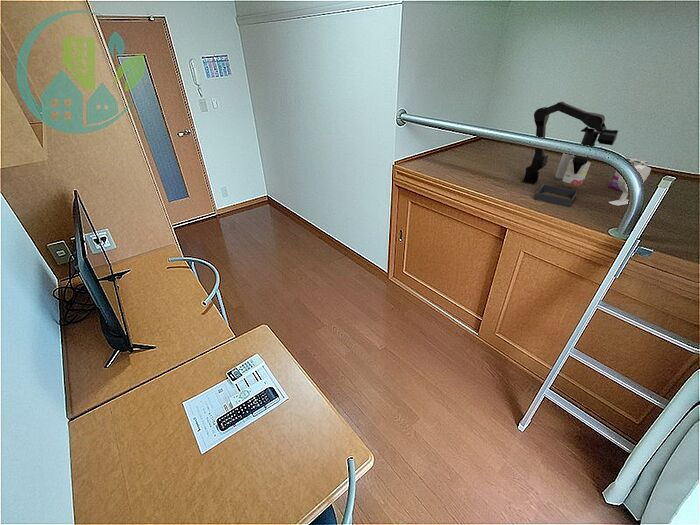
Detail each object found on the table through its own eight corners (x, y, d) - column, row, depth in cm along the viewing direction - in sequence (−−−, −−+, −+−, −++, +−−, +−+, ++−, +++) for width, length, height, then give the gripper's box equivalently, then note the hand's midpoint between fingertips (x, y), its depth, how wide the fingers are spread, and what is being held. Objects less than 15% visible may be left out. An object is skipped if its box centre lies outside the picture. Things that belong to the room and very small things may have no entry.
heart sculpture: (626, 198, 166) (644, 163, 156) (636, 201, 162) (655, 166, 152) (605, 202, 161) (621, 166, 151) (615, 206, 157) (632, 169, 147)
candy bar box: (635, 192, 172) (650, 161, 163) (628, 193, 171) (644, 162, 161) (614, 185, 181) (628, 156, 172) (608, 187, 179) (621, 157, 170)
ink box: (583, 184, 171) (592, 161, 164) (577, 185, 169) (586, 163, 162) (567, 179, 177) (575, 157, 171) (561, 181, 175) (569, 159, 169)
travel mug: (554, 176, 195) (566, 141, 184) (566, 177, 193) (579, 143, 182) (553, 179, 191) (565, 144, 180) (566, 180, 188) (579, 145, 177)
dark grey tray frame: (534, 199, 166) (536, 192, 164) (541, 190, 176) (544, 184, 174) (569, 206, 157) (572, 200, 155) (575, 196, 168) (577, 190, 166)
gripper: (605, 148, 151) (591, 180, 160) (609, 140, 163) (596, 171, 172) (578, 144, 157) (566, 176, 165) (584, 137, 169) (572, 167, 178)
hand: (576, 172), depth 170 cm, fingers closed on ink box, 6 cm apart
